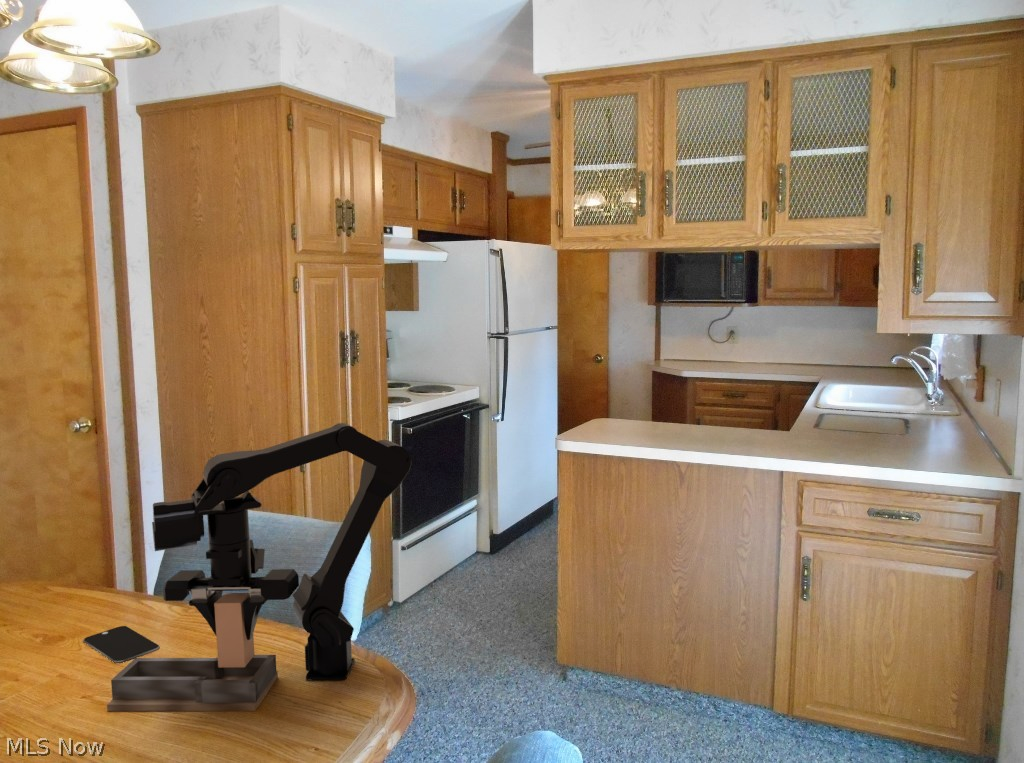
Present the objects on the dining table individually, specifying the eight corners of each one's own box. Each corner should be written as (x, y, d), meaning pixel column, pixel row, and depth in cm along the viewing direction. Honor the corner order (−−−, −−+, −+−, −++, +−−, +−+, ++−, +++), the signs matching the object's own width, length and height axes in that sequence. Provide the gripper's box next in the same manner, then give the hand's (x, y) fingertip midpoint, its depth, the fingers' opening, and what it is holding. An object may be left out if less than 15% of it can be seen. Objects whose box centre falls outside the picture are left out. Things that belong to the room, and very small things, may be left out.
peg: (254, 654, 118) (250, 592, 117) (244, 667, 114) (240, 603, 113) (229, 655, 118) (225, 592, 117) (218, 667, 114) (214, 603, 113)
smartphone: (124, 624, 142) (162, 646, 132) (124, 628, 142) (162, 650, 132) (80, 638, 136) (116, 662, 126) (80, 642, 136) (116, 667, 126)
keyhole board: (277, 677, 121) (276, 653, 121) (255, 710, 111) (253, 684, 111) (142, 677, 122) (140, 653, 121) (107, 711, 112) (105, 685, 111)
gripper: (306, 522, 121) (311, 616, 123) (191, 524, 122) (198, 617, 124) (284, 545, 110) (289, 647, 112) (157, 546, 111) (165, 648, 113)
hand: (235, 638), depth 115 cm, fingers closed on peg, 4 cm apart
